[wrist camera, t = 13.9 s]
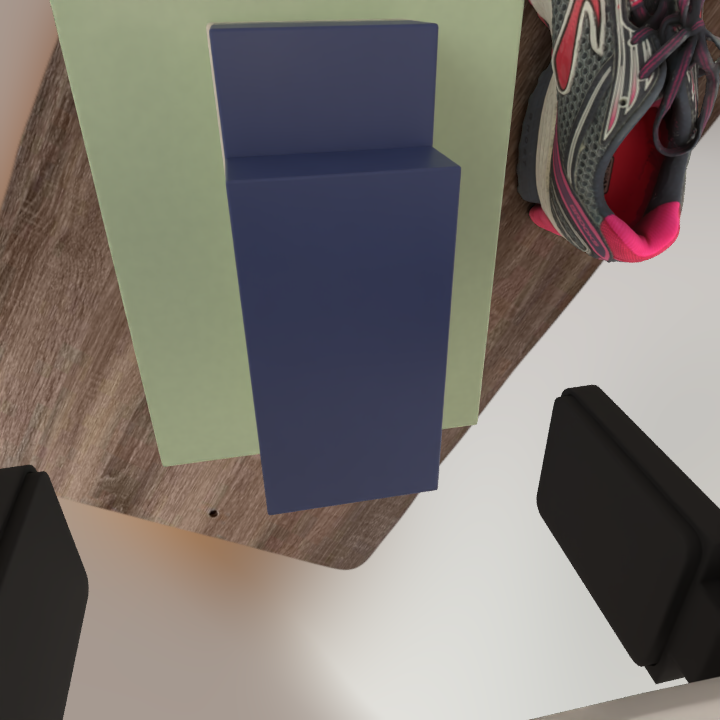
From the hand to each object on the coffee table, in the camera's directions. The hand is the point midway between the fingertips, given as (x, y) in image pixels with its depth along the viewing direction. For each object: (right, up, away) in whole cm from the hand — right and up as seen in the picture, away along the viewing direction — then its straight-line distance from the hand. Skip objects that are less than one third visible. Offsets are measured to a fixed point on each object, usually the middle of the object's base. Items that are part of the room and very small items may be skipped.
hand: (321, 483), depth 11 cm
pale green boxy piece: (-7, +22, +34) cm, 41 cm away
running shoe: (+18, +29, +36) cm, 49 cm away
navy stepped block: (-1, +6, +7) cm, 9 cm away
